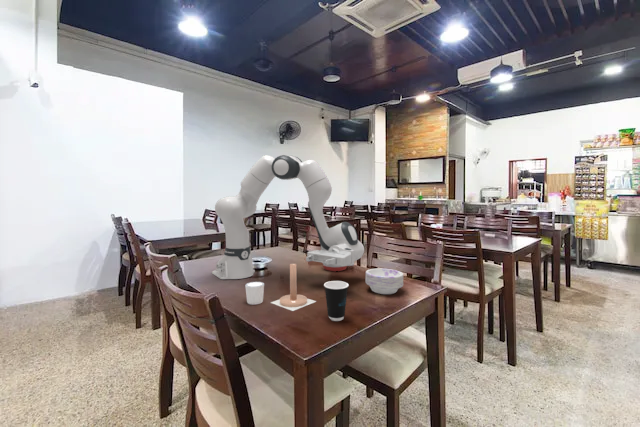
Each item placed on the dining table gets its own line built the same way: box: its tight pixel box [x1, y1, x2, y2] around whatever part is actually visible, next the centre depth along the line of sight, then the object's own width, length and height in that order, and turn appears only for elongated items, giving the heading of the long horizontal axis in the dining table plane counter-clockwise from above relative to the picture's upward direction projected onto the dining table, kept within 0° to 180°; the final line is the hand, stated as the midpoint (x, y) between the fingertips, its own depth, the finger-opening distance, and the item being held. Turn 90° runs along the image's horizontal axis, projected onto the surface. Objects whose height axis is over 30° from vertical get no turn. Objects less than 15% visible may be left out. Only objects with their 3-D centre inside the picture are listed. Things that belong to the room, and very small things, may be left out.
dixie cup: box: [323, 280, 350, 322], centre depth 95 cm, size 8×8×11 cm
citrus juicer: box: [320, 245, 348, 272], centre depth 159 cm, size 16×17×20 cm
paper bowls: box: [365, 267, 404, 295], centre depth 122 cm, size 15×15×8 cm
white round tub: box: [244, 281, 265, 306], centre depth 109 cm, size 7×7×7 cm
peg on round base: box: [279, 263, 308, 307], centre depth 109 cm, size 10×10×14 cm
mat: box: [270, 298, 317, 312], centre depth 109 cm, size 12×12×1 cm
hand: (316, 260), depth 118 cm, fingers open, 8 cm apart
